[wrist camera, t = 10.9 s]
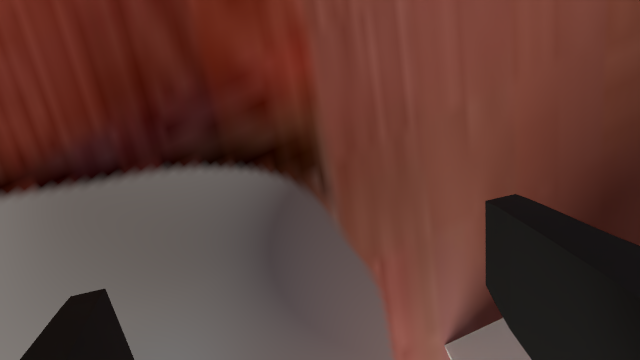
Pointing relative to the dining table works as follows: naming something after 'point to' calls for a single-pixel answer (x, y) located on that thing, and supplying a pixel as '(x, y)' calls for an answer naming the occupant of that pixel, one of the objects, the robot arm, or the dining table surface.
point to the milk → (488, 344)
